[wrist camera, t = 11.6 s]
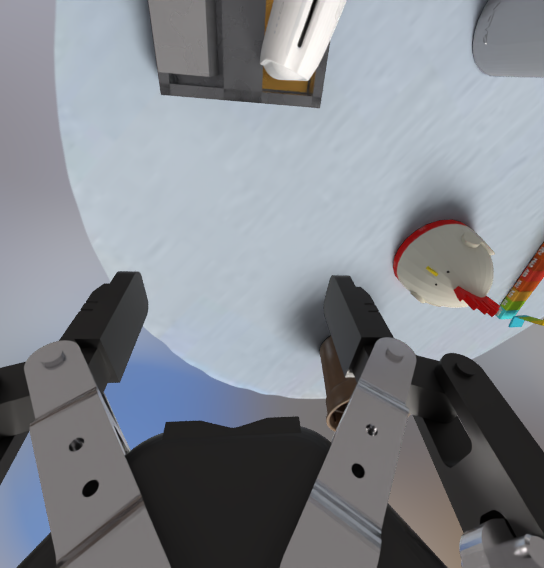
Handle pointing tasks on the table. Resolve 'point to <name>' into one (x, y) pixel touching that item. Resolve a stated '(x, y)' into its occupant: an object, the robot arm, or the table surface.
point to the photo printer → (298, 37)
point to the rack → (222, 53)
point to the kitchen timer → (447, 266)
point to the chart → (523, 292)
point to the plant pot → (335, 384)
